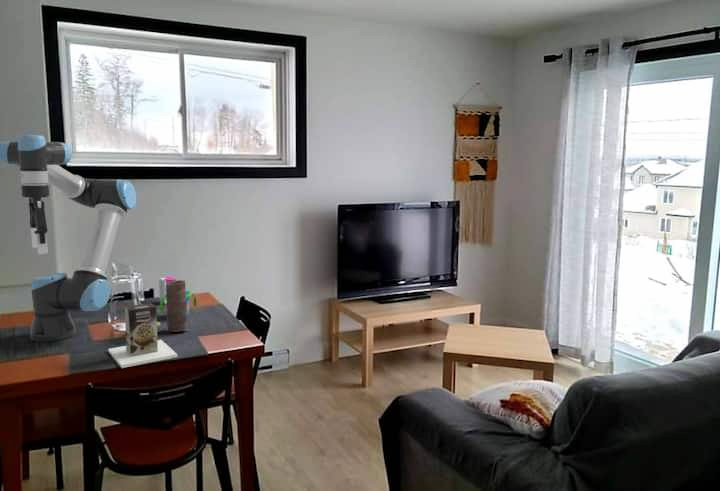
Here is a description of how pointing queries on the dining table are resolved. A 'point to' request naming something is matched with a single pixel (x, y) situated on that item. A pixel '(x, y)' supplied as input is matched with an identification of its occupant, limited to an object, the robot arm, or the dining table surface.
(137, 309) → the coffee box
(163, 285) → the supplement box
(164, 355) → the pad
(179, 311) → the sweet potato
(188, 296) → the snack cup
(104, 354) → the dining table surface
